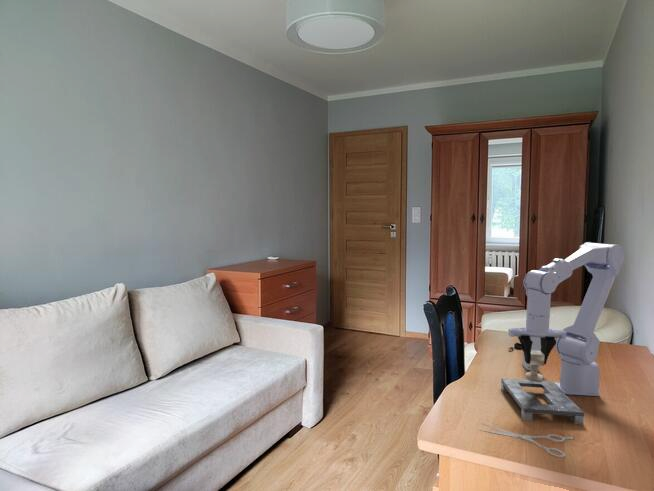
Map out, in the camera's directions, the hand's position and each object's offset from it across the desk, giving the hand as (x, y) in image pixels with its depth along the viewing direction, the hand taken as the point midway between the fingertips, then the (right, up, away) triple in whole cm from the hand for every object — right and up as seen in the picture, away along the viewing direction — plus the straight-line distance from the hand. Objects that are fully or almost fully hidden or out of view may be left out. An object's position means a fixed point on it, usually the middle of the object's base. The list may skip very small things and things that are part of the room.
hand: (535, 362), depth 122 cm
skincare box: (+11, -9, +26) cm, 29 cm away
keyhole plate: (-1, -10, -3) cm, 11 cm away
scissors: (-12, -12, -21) cm, 27 cm away
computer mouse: (+15, -8, +39) cm, 43 cm away
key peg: (0, -5, +1) cm, 5 cm away
